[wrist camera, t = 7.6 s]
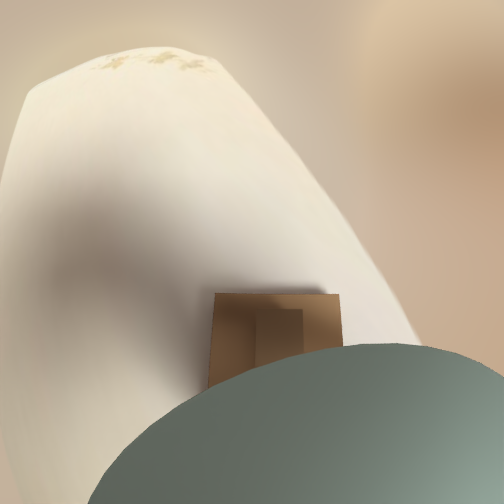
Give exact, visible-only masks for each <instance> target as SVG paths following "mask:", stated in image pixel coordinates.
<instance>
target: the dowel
mask: <svg viewBox="0 0 504 504" xmlns="http://www.w3.org/2000/svg"><path fill="white" fill-rule="evenodd" d="M88 504H504V377H503V376H501V375H500V374H498V373H497V372H495V371H493V370H491V369H490V368H488V367H486V366H484V365H483V364H482V363H480V362H477V361H475V360H472V359H470V358H467V357H464V356H462V355H460V354H457V353H453V352H449V351H445V350H440V349H436V348H432V347H428V346H418V345H408V344H398V343H391V344H359V345H351V346H344V347H335V348H327V349H322V350H318V351H314V352H310V353H305V354H301V355H296V356H292V357H287V358H285V359H282V360H279V361H276V362H273V363H270V364H267V365H264V366H260V367H257V368H254V369H251V370H249V371H246V372H244V373H242V374H240V375H237V376H235V377H233V378H231V379H228V380H226V381H224V382H221V383H219V384H217V385H214V386H212V387H211V388H209V389H207V390H205V391H204V392H202V393H200V394H198V395H196V396H195V397H193V398H191V399H189V400H187V401H186V402H184V403H182V404H180V405H179V406H177V407H176V408H174V409H173V410H172V411H170V412H169V413H167V414H166V415H165V416H163V417H162V418H160V419H159V420H158V421H156V422H155V423H153V424H152V425H151V426H149V427H148V428H147V429H146V430H145V431H144V432H143V433H142V434H140V435H139V436H138V437H137V438H136V439H135V440H134V441H133V442H132V443H131V444H130V445H128V446H127V447H126V448H125V449H124V450H123V451H122V453H121V454H120V455H119V456H118V457H117V459H116V460H115V461H114V462H113V464H112V465H111V466H110V467H109V468H108V470H107V471H106V472H105V473H104V475H103V477H102V478H101V480H100V482H99V483H98V485H97V487H96V489H95V490H94V492H93V494H92V495H91V497H90V499H89V502H88Z"/></svg>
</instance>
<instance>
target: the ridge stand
mask: <svg viewBox="0 0 504 504" xmlns="http://www.w3.org/2000/svg"><path fill="white" fill-rule="evenodd" d="M335 347H343V338H342V324H341V311H340V300H339V294H234V293H215V302H214V313H213V326H212V338H211V351H210V365H209V380H208V389H209V388H211V387H212V386H214V385H217V384H219V383H221V382H224V381H226V380H228V379H231V378H233V377H235V376H237V375H240V374H242V373H244V372H246V371H249V370H251V369H254V368H257V367H260V366H264V365H267V364H270V363H273V362H276V361H279V360H282V359H285V358H287V357H292V356H296V355H301V354H305V353H310V352H314V351H318V350H322V349H327V348H335Z"/></svg>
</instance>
